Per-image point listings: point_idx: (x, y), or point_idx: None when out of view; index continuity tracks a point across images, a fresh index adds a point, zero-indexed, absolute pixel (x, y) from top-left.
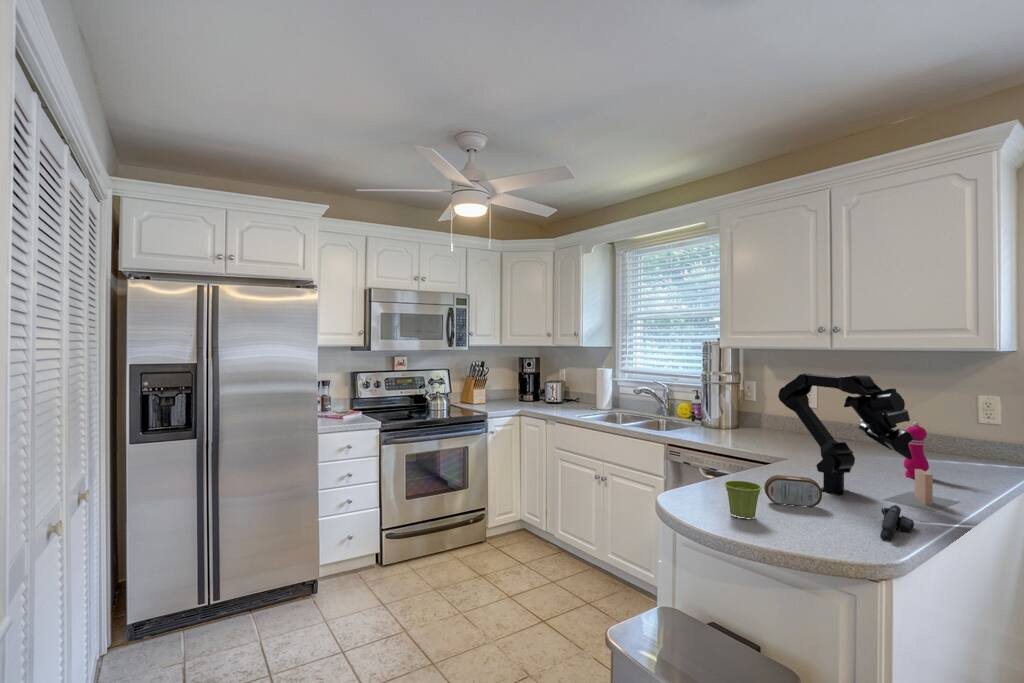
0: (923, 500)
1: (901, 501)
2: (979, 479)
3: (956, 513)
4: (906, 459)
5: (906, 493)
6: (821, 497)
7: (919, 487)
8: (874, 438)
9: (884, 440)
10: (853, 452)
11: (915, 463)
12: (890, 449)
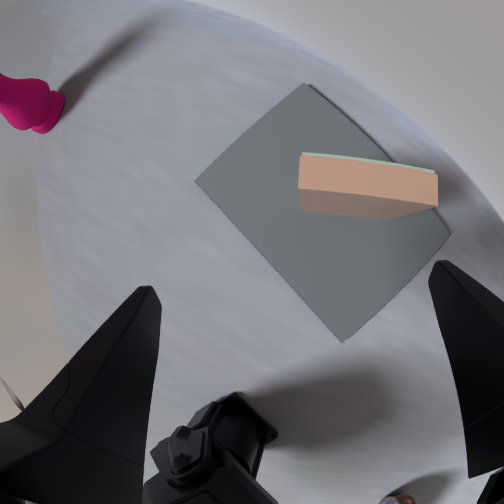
0: (376, 217)
1: (355, 284)
2: (78, 21)
3: (426, 160)
4: (14, 121)
5: (227, 206)
6: (414, 501)
7: (350, 208)
8: (135, 484)
9: (123, 404)
10: (207, 495)
11: (32, 105)
12: (160, 315)
